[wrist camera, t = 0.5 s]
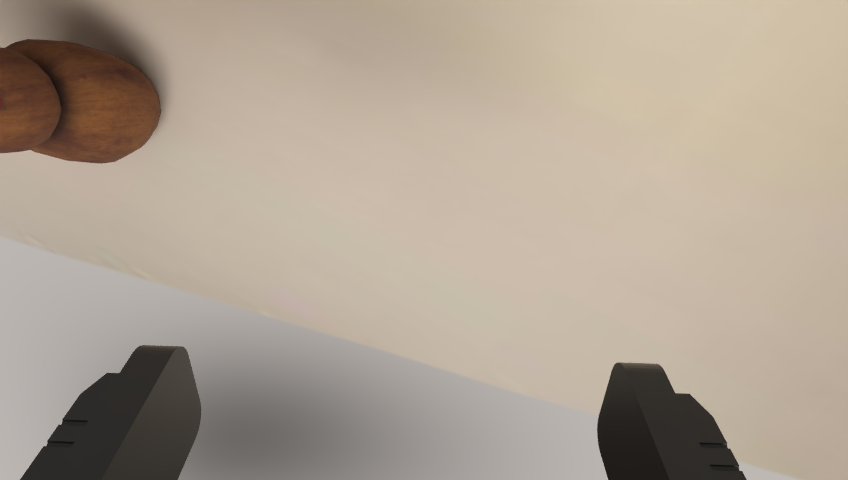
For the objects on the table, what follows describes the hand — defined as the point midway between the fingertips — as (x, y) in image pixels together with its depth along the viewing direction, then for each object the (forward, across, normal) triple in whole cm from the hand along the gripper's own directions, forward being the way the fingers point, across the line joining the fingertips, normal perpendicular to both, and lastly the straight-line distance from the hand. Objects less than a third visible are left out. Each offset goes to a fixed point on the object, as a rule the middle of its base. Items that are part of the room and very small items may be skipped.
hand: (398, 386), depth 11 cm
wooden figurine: (+25, +18, +3) cm, 31 cm away
